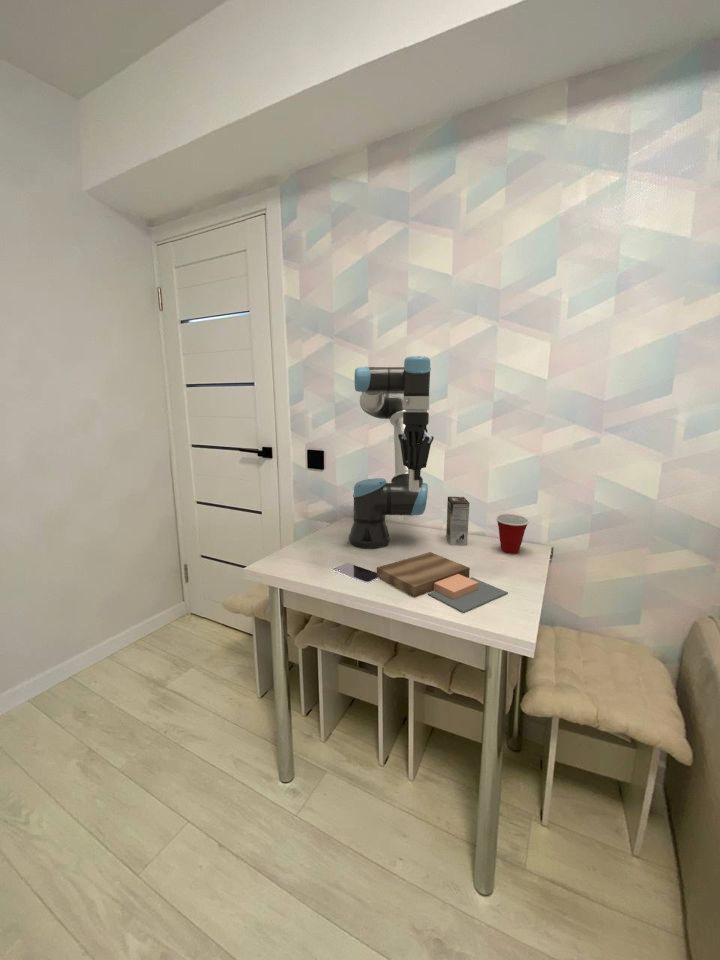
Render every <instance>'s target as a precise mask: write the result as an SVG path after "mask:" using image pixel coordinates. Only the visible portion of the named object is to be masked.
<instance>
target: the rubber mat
mask: <svg viewBox="0 0 720 960" xmlns="http://www.w3.org/2000/svg"><path fill="white" fill-rule="evenodd" d="M469 579H472V580H474V581H477V582H478V589H477V590H475V591H473V592H470V593H468V594H466V595H463V596H461V597H459V598H456V599H452V598H450V597H448V596H446V595H443V594H441V593H439V592H437V591H435V590H434V591H431V592H428V593H427V596H428V597H431V598H433V599H435V600H437V601H439V602H441V603H443V604H444V605H446V606H448V607H450V608H452V609H455V610H456V611H458V612H460V613H462V614H465V613H467V612H470V611H473V610H475V609H477V608H479V607H481V606H483V605H486V604H489V603H490V602H493V601H495V600H496V599H499V598H503V597H504V596H506V595H508V594H509V592H508V591H506V590H503V589H501V588H498V587H496V586H495V585H491V584H490V583H487V582H484V581H482V580H479V579H477V578H475V577H469Z"/></svg>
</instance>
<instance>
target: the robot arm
mask: <svg viewBox="0 0 720 960" xmlns="http://www.w3.org/2000/svg"><path fill="white" fill-rule="evenodd" d="M403 361H404V362H403V366H401V367H400V366H394V367H393V366H391V367H390V366H389V367H387V366H386V367H385V366H363V367H362V366H361V367H356V368H355V370H354V390H355V392H360V393H361V394H360V395H359V405H360V408H361V410H362V411H363V412H364V413H365V414H367V415H368V416H371V417H372V418H376V419H379V420H380V419H382V420H384V419H385V420H389V421H390V424H391V425H392V426H393V435H394V436H393V437H394V438H393V439H394V440H393V443H394V444H393V446H394V472H395V473H394V476H393V477H392V478H391V480H390V482H387V480H386V479H385V478H379V477H378V478H368V479H367V478H366V479H363V480H360V481H358V482H356V483H355V484H354V486H353V495H352V497H353V523H352V526H351V529H350V533H349V535H348V543H349V545H350V546H352V547H355V548H358V549H365V550H366V549H368V550H369V549H370V550H374V549H382V548H385V547H387V546H388V545H390V543H391V539H390V538H391V537H390V536H391V535H390V532H389V530H388V526H387V523H386V516H410V517H413V516H421V515H423V514H424V513H425V510H426V507H427V500H428V493H429V485H428V483H427V482H424V479H423V477H422V476H421V470H422V469H424V468H427V464H428V461H429V460H428V459H429V456H430V450H431V445H432V443H433V441H434V440H435V439H434V436H433V435H432V436H431V435H429V434H428V428H427V426H429V421H430V420H429V419H430V413H429V412H428V411H429V410H430V387H431V386H430V384H431V383H430V381H431V370H432V368H431V359H430V357H428V356H423V355H412V356H407V357H405V358H404V360H403Z"/></svg>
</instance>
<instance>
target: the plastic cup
mask: <svg viewBox="0 0 720 960" xmlns="http://www.w3.org/2000/svg"><path fill="white" fill-rule="evenodd" d="M495 520H496V521H497V526H498V535H499V544H500V551H501V550H502V551H501V552H502V553H506V554H508V553H510V554H511V555H516V554H518V553H519V552H520V550H521V546H522V543H523V539H524V535H525V533H526V529H527V527H528V525H529V523H530V519H529V518H527V517H525V516H522V515H519V514H515V513H514V514H511V513H502V514H501V513H500V514H499V515H496V516H495Z"/></svg>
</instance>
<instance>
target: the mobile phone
mask: <svg viewBox="0 0 720 960" xmlns="http://www.w3.org/2000/svg"><path fill="white" fill-rule="evenodd" d="M332 569H333V570H335V571H338V572H340V573H342V574H345V575H347V576H349V577H351V578H350V579H352V578H354V579H356V580H355V581H357V580H359V581H361V582H360V583H362V582H364V583H363V584H365V583H370V582H372V581H374V582H376V581H377V580H376V579H378V580H380V579H379V577H378V576H377V571H376V572H375V571H373V570H370V569H367V568H365V567H364V568H363V567H362V566H358V565H355V564H353V563H349V562H344V563H342V564H340V565H337V566H335V567H333V568H332ZM349 577H348V578H349ZM354 579H353V580H354ZM375 580H376V581H375ZM359 581H358V582H359ZM372 583H373V582H372ZM370 584H371V583H370Z"/></svg>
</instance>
